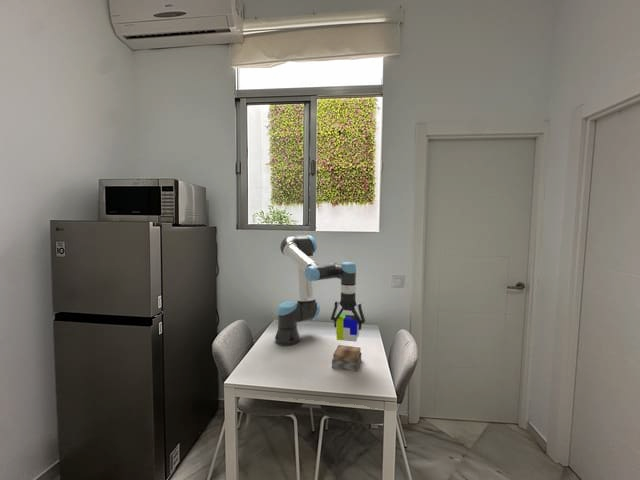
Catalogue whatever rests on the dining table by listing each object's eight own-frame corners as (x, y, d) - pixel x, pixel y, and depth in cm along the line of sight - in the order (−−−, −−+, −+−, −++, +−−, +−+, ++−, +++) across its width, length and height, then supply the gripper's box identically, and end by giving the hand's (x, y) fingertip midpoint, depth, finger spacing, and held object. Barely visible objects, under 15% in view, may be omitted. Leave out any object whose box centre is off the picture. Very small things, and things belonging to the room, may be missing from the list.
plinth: (332, 367, 156) (332, 354, 155) (337, 356, 168) (337, 344, 168) (357, 371, 152) (357, 358, 152) (361, 359, 165) (361, 347, 164)
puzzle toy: (356, 341, 153) (356, 322, 152) (336, 339, 155) (336, 320, 154) (358, 334, 163) (358, 315, 162) (339, 332, 165) (339, 314, 164)
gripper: (324, 292, 157) (324, 334, 159) (369, 295, 151) (368, 339, 152) (328, 289, 164) (328, 329, 166) (371, 292, 158) (370, 334, 159)
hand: (347, 334), depth 159 cm, fingers closed on puzzle toy, 10 cm apart
